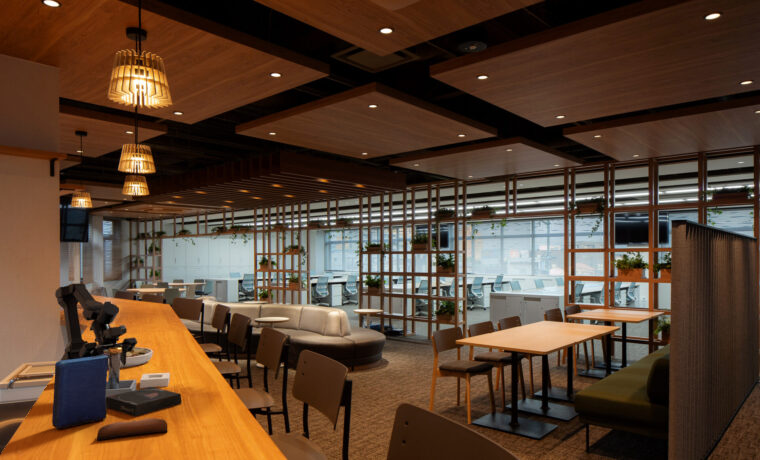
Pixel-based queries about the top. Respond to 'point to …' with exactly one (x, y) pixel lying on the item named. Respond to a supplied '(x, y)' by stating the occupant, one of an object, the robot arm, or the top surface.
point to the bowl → (135, 357)
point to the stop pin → (114, 367)
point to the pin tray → (121, 387)
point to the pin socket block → (154, 380)
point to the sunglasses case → (131, 428)
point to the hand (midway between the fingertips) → (116, 366)
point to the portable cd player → (143, 401)
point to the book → (80, 391)
